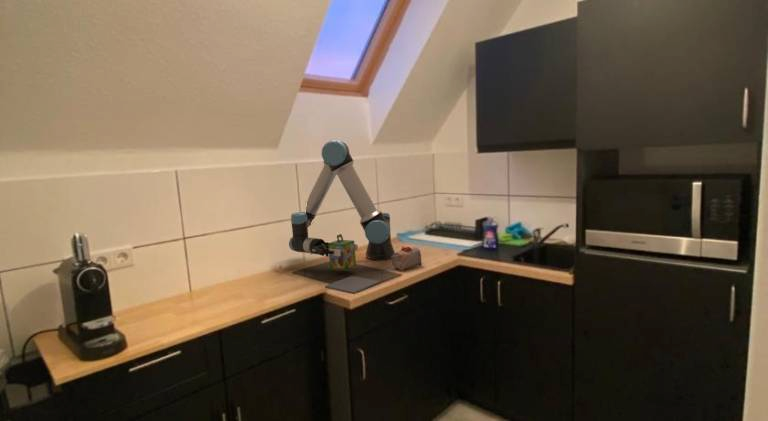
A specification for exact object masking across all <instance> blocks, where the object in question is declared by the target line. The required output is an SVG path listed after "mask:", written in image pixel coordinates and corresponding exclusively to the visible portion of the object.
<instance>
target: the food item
mask: <svg viewBox="0 0 768 421" xmlns="http://www.w3.org/2000/svg"><path fill="white" fill-rule="evenodd" d="M390 259H391V266H392V267H394V268H395V269H397V270H399V271H402V272H403V271H406V270H409V269H412V268H416V267H419V266H422V265H423V263H422V254H421V250H420V249H419V248H417V247H409V246H407V247H405V246H402V247H401V248H400V251H396V252H395V253H394V255H393V256H392V257H391V258H390Z"/></svg>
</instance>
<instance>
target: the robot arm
mask: <svg viewBox="0 0 768 421" xmlns="http://www.w3.org/2000/svg"><path fill="white" fill-rule="evenodd" d="M321 157H322V160H323V163H322V164H323V167H322V169H321V172H320V173H319V176H318V177H317V179H316V181H315V183H314V185H313V187H312V188H311V191H310V193H309V195H308V197H309V198H308V197H307V199H308V201H307V200H306V201H307V207H306V213H305V212H301V211H297V212H293V213H291V215H290V222H291V229H292V231H291V232H292V237H290V239H289V241H288V246H289V249H290V250H291V251H293V252H297V253H306V254H310V255H319V256H322V257H323V256H325V257H327V258H328V257H329V255H334V256H341V251H340V250H337V249H329V247H328V244H329V243H330V242H327V241H325V240H324V239H322V238H318V237H317V238H316V237H309V229H308V228H309V227H311V226H312V225H311V222H312V220H313V219H314V220H315V218H316V216H317V213H318V212H319V210H320V208H321V206H322V204H323V202H324V200H325V198H326V195H327V194H328V193H329V190H330V188H331V186H332V184H333V182H334V180H335V179H336V176H337V177H338V178H339V181H340V182H341V184H342V186H343V188H344V190H345V192H346V193H347V196H348V197H349V199H350V201H351V203H352V204H353V206H354V208H355V209H356V212H357V213H358V216H359V217H360V220H359V223H360V225H361V227H362V229H363V231H364V235H365V237H366V239H367V240H368V243H367V248H366V252H365V257H366V256H367V257H369V258H371V259H370V260H376V261H377V260H378V261H379V260H380V261H381V260H390V259H391V257H392V256H393V255H394V253H396V252H395V250H394V246H393V244H392V240H391V238H392V237H391V236H392V235H391V216H390V213H389V212H382V210H380V209H377V208H376V206H375V204H374V202H373V200H372V199H371V197H370V196H369V193H368V192H367V189H366V188H365V186H364V184H363V182H362V180H361V179H360V177H359V175H358V173H357V171H356V170H355V167H354V160H353V157H352V156H351V153H350V149H349V147H348V145H347V144H346V143H345V142H344V141H341V140H337V139H332V140H329V141H327V142H326V143H324V145H323V147H322V149H321ZM310 225H311V226H310ZM354 244H355V252H356V251H359V246H358V244H357V243H354Z"/></svg>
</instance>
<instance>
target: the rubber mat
mask: <svg viewBox="0 0 768 421" xmlns="http://www.w3.org/2000/svg"><path fill="white" fill-rule="evenodd" d="M380 283H381V281H380V280H376V279H369V278H364V277H358V276H351V275H350V276H348V277H344V278H342V279H340V280H337V281H335V282H332V283H329V284H326V285H324V287H325V288H327V289H331V290H335V291H341V292H345V293H349V294H354V295H355V294H357V293H359V292H362V291H364V290H366V289H368V288H371V287H373V286H376V285H378V284H380Z"/></svg>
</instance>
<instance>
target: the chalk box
mask: <svg viewBox="0 0 768 421" xmlns="http://www.w3.org/2000/svg"><path fill="white" fill-rule="evenodd" d="M336 239H337V240H334V241H331V242H328V243H329V244H328V247H329V249H337V250H340V251H341V256H334V255H329V254H328V255H329V256H328V257H329V266H330V270H349V269H351V268H353V267H355V266H356V264H357V260H356V251H355V244H356V243H355V240H349V239H344V237H343V235H342V234H341V233H339V234H338V235H336Z"/></svg>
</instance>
